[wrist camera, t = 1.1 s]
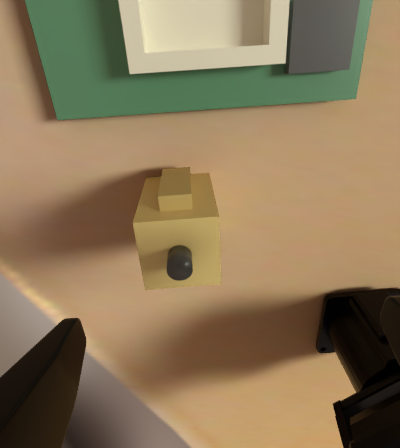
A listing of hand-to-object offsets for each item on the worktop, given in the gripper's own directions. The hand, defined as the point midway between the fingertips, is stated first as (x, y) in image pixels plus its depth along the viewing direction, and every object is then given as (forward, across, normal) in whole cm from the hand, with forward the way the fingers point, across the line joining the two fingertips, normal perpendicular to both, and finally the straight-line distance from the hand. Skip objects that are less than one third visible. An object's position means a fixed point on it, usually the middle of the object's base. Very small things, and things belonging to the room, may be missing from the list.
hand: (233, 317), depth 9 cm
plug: (+12, +2, +2) cm, 12 cm away
